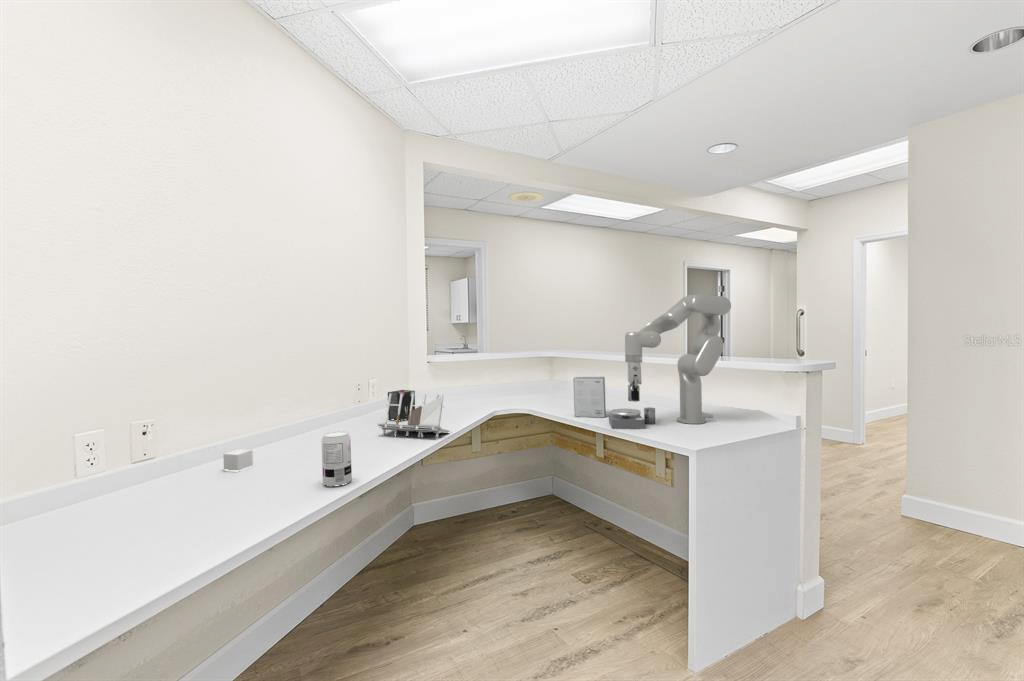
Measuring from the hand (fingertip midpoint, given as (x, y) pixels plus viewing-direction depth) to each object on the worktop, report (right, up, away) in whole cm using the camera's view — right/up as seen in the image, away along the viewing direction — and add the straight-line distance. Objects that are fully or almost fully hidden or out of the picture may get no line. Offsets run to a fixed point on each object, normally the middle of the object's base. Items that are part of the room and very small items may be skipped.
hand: (634, 398), depth 206 cm
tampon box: (-113, -15, +29) cm, 117 cm away
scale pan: (-4, -8, +1) cm, 9 cm away
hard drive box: (-16, -12, +25) cm, 32 cm away
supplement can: (-109, -17, -69) cm, 130 cm away
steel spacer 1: (0, -1, 0) cm, 1 cm away
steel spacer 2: (+9, -12, +4) cm, 15 cm away
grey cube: (-149, -18, -52) cm, 159 cm away
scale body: (-3, -12, +1) cm, 13 cm away
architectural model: (-99, -16, -8) cm, 100 cm away
